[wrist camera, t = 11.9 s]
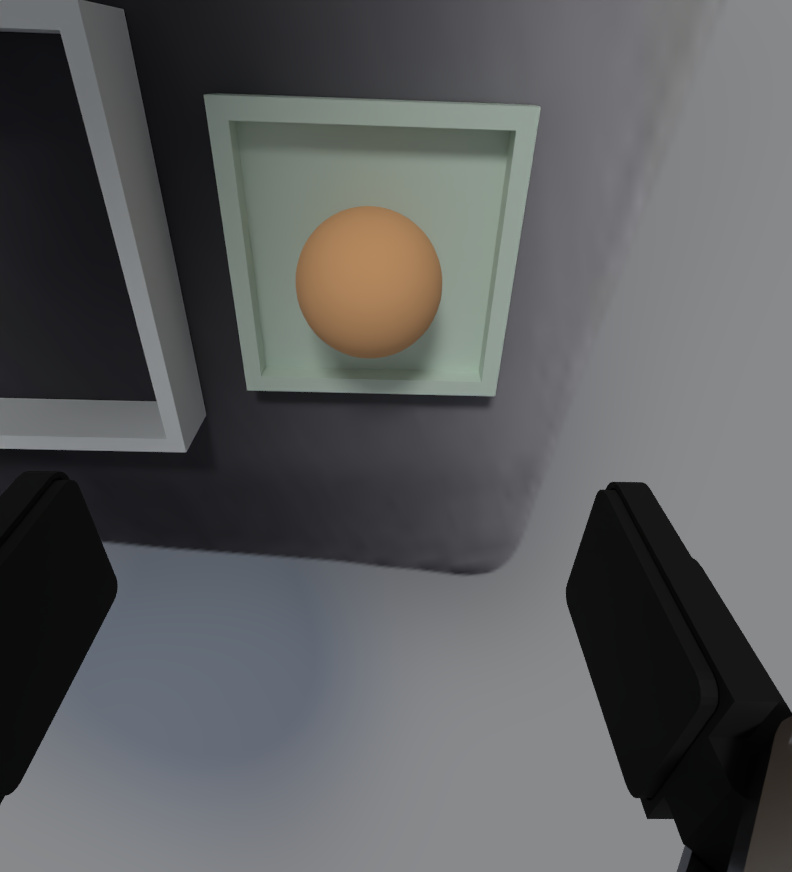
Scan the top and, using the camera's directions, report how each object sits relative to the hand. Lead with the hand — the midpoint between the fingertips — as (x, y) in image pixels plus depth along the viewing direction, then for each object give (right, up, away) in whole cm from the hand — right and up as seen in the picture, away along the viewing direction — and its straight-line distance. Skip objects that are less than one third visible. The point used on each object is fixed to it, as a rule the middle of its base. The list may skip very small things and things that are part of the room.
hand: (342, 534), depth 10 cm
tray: (0, +10, +15) cm, 18 cm away
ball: (0, +8, +12) cm, 15 cm away
